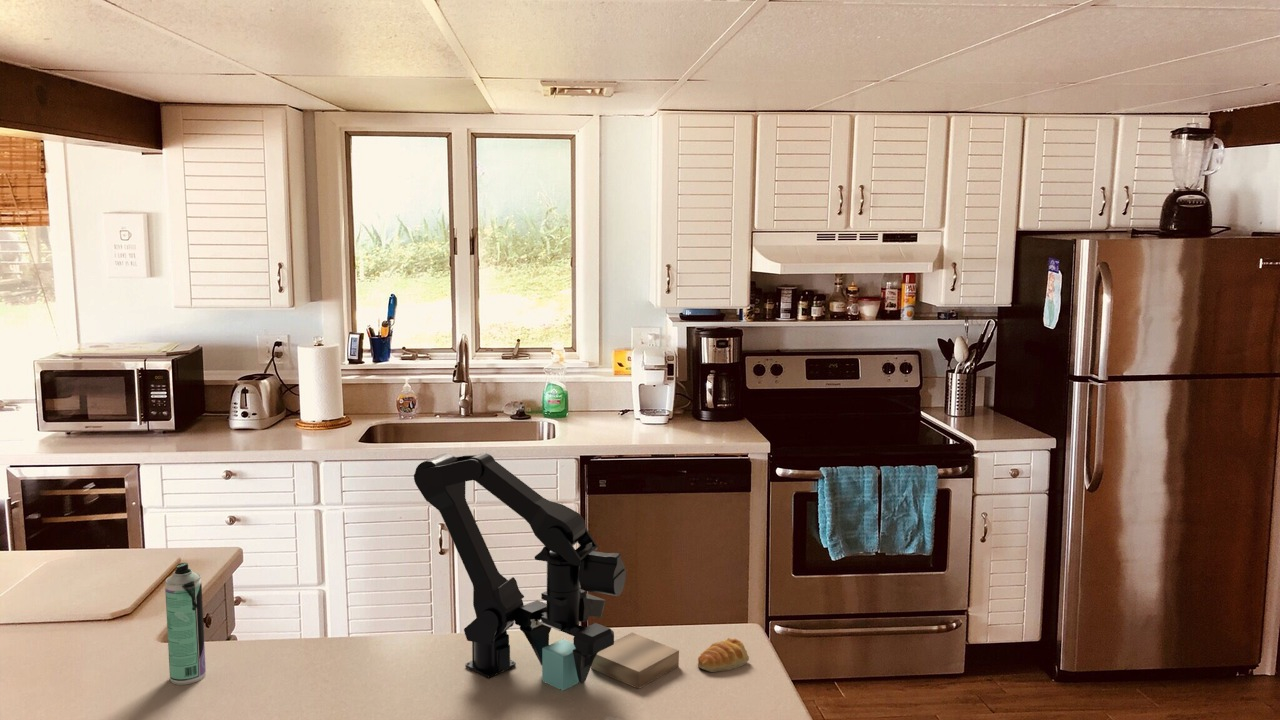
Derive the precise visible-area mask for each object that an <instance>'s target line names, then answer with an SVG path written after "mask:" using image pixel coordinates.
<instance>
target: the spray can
mask: <svg viewBox="0 0 1280 720" xmlns="http://www.w3.org/2000/svg"><path fill="white" fill-rule="evenodd" d="M201 578H202V576H201V574H200V573H197V572H194V571H193V570H192V569H191V568H190V567H189V563H187V562H181V563H178V564H177V565H176V569H175V571H174V572H172V575H170V576H168V577H167V578H165V585H164V588H165V589H164V591H165V593H164V594H165V608H166V629H167V644H168V645H167V647H168V649H167V650H168V663H169V669H168V670H169V680H170V683H172V684H173V685H178V686H181V685H189V684H193V683H196V682H199V681H201V680H203V679H204V678H205V676H206V673H207V670H206V669H207V667H206V649H205V647H206V646H205V629H204V628H205V626H204V624H205V623H204V609H203V608H204V607H203V588H202V587H203V586H202V579H201Z"/></svg>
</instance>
